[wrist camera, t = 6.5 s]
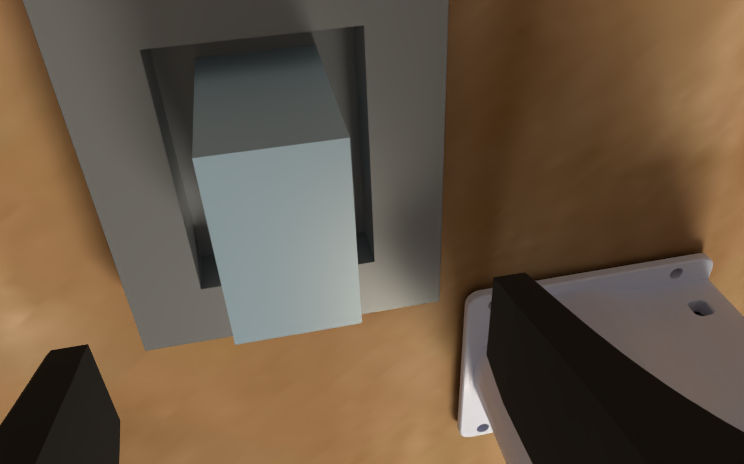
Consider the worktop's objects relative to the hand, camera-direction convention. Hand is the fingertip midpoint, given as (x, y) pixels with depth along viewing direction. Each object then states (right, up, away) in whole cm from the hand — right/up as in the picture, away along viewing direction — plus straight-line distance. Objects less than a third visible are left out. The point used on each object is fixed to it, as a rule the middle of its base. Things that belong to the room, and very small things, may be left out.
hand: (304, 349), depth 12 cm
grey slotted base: (-2, +5, +7) cm, 8 cm away
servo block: (-2, +5, +6) cm, 8 cm away
